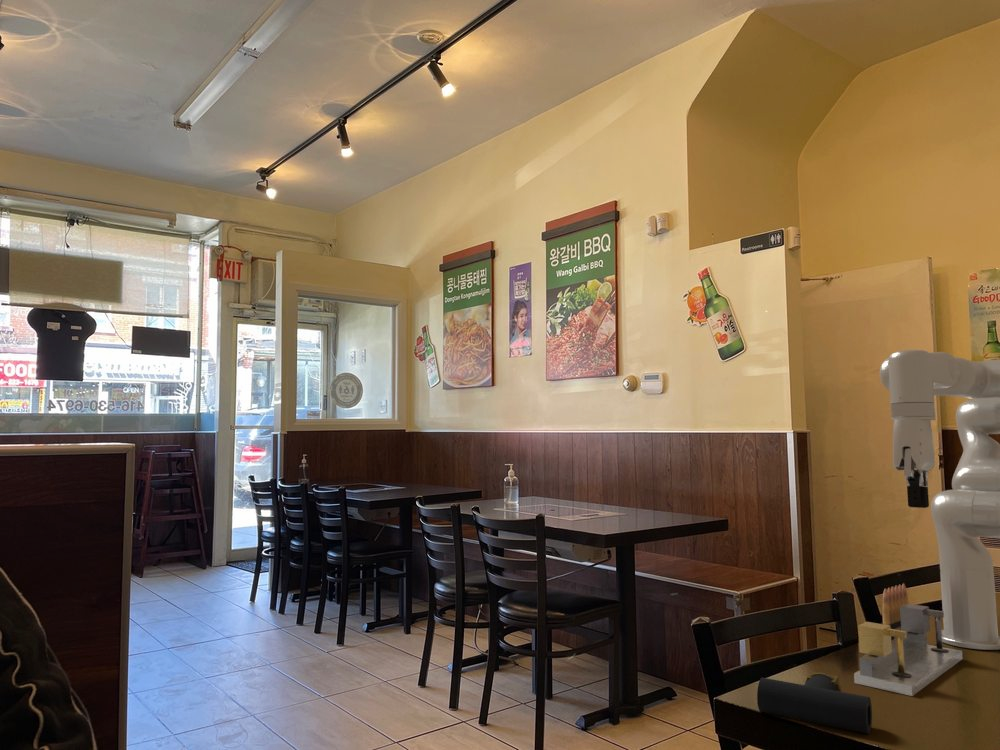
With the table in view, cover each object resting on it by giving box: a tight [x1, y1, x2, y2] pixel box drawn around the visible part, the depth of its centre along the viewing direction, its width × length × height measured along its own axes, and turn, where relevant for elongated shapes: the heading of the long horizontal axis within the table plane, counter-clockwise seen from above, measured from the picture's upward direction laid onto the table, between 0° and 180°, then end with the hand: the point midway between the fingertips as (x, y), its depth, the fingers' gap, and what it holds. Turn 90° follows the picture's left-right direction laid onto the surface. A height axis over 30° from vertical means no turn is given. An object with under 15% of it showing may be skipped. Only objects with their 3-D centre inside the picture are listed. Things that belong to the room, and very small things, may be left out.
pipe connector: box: [756, 671, 873, 735], centre depth 108 cm, size 12×5×15 cm
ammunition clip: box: [880, 582, 910, 641], centre depth 147 cm, size 11×2×12 cm, turn 129°
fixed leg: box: [900, 603, 944, 649], centre depth 139 cm, size 4×7×7 cm, turn 44°
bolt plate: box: [853, 632, 964, 697], centre depth 130 cm, size 30×9×4 cm, turn 134°
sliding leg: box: [857, 621, 907, 674], centre depth 124 cm, size 4×7×7 cm, turn 44°
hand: (918, 507), depth 138 cm, fingers closed
